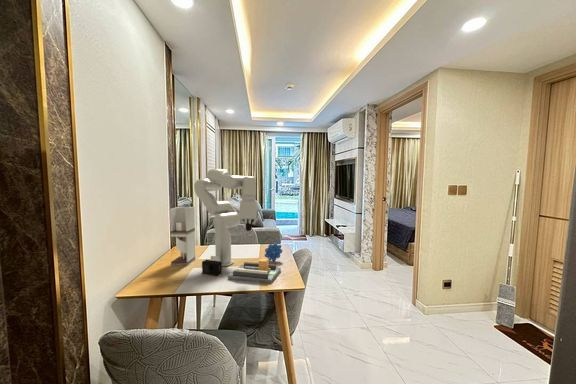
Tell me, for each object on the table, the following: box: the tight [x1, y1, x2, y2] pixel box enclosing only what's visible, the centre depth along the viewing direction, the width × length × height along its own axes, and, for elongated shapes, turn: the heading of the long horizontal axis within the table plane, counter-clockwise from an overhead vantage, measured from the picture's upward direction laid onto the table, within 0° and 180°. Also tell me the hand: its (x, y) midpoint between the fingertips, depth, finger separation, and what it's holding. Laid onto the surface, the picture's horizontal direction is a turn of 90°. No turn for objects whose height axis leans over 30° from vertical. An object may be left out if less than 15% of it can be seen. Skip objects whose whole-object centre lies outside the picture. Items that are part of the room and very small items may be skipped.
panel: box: [227, 264, 282, 284], centre depth 141 cm, size 24×18×3 cm
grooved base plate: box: [232, 261, 277, 278], centre depth 141 cm, size 19×16×3 cm
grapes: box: [264, 242, 283, 262], centre depth 167 cm, size 12×7×12 cm, turn 94°
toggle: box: [258, 257, 271, 273], centre depth 140 cm, size 6×5×7 cm
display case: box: [169, 206, 196, 266], centre depth 163 cm, size 11×11×35 cm
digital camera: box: [201, 259, 223, 277], centre depth 143 cm, size 10×5×7 cm, turn 68°
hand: (248, 230), depth 145 cm, fingers closed
